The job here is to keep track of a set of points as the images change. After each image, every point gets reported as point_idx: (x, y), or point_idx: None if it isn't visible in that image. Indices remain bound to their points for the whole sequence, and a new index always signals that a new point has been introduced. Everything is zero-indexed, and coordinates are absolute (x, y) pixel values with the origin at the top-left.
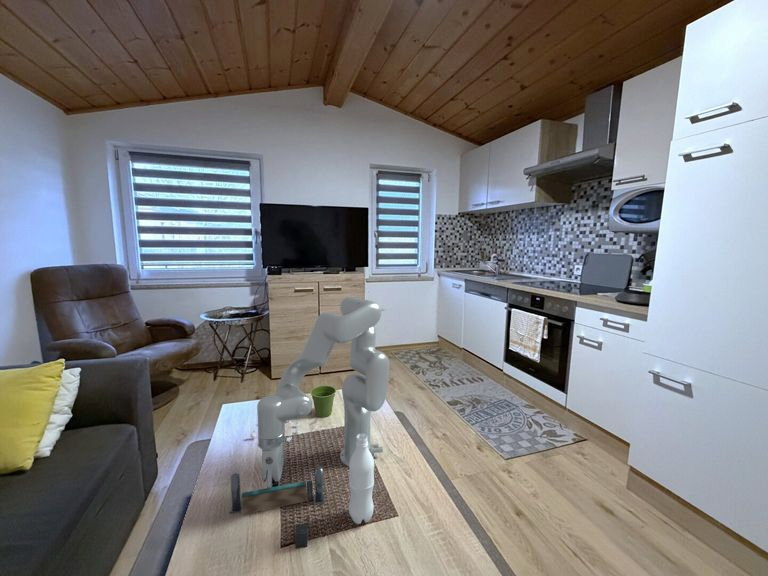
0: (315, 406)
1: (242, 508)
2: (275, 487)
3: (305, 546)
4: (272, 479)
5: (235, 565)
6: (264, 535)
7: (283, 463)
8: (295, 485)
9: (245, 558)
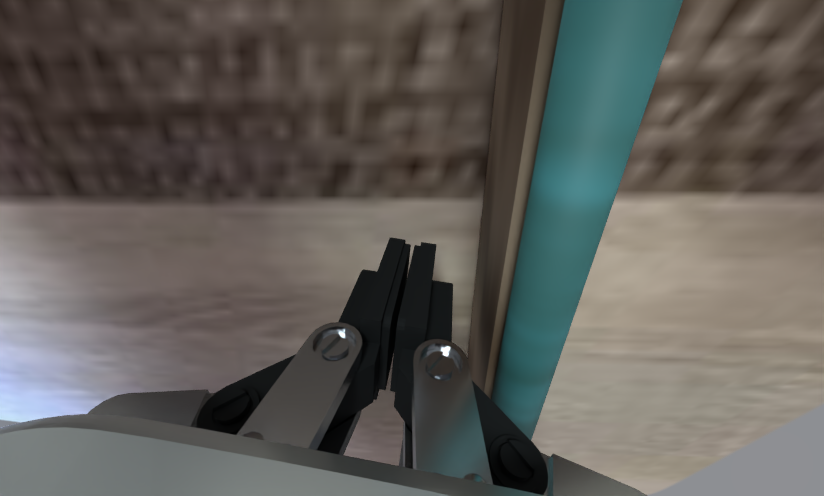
0: None
1: None
2: (539, 380)
3: None
4: (371, 388)
5: (804, 398)
6: (711, 292)
7: (80, 446)
8: (658, 68)
9: (802, 368)
